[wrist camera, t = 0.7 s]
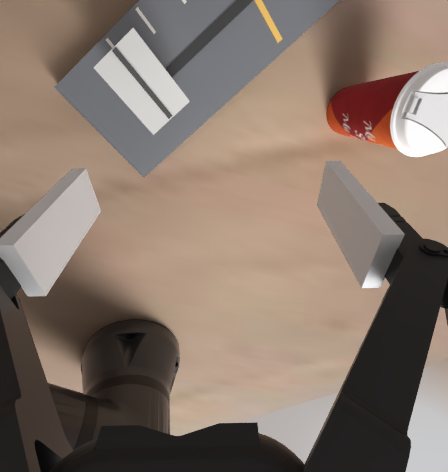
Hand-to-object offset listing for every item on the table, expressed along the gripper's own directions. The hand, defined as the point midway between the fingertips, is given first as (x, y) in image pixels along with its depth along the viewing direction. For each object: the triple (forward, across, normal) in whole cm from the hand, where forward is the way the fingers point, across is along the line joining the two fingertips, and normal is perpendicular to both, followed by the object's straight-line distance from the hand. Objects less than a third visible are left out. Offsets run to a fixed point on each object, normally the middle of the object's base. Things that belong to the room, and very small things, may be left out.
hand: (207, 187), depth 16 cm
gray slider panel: (+22, +1, -6) cm, 23 cm away
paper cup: (+24, -17, +2) cm, 30 cm away
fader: (+18, +7, -2) cm, 19 cm away
